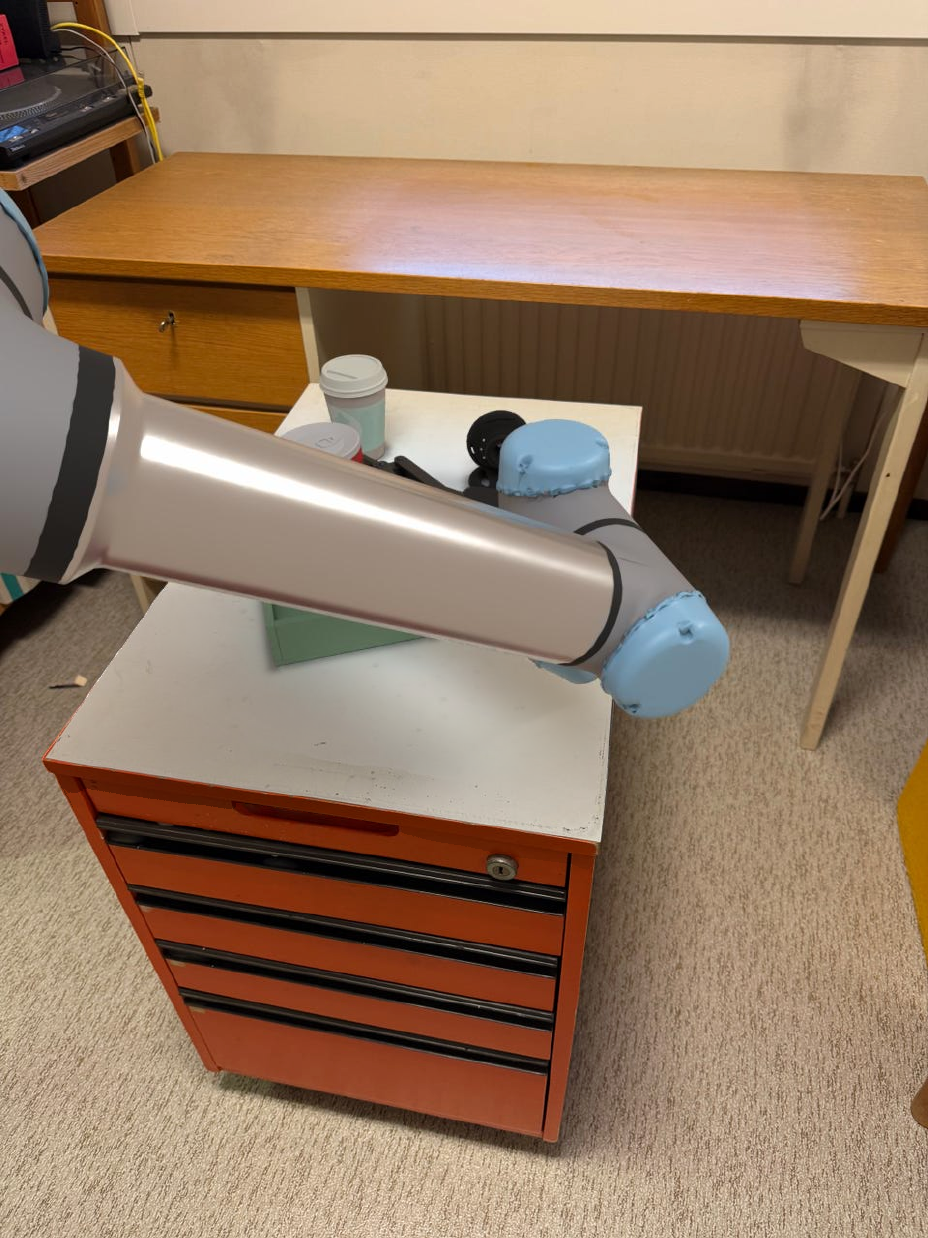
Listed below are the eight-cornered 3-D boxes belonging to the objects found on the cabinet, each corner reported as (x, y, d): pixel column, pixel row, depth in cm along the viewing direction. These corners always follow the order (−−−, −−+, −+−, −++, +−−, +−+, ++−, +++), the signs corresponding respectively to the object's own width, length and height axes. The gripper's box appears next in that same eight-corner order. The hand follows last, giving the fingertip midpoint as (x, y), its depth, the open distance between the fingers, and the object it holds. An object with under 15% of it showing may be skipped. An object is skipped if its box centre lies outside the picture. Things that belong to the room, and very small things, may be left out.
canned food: (388, 530, 89) (376, 432, 81) (338, 573, 84) (321, 473, 76) (329, 509, 92) (313, 413, 85) (277, 549, 87) (256, 451, 80)
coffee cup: (321, 446, 118) (308, 361, 110) (381, 430, 120) (372, 346, 113) (342, 476, 112) (329, 388, 104) (404, 459, 115) (396, 373, 107)
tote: (275, 666, 86) (266, 627, 83) (263, 572, 97) (254, 534, 94) (431, 635, 89) (428, 596, 85) (401, 547, 100) (397, 509, 97)
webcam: (472, 505, 106) (470, 430, 99) (463, 472, 112) (460, 400, 105) (536, 497, 107) (537, 423, 100) (523, 466, 112) (524, 393, 106)
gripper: (371, 661, 71) (213, 549, 83) (539, 545, 82) (377, 462, 94) (360, 589, 66) (194, 482, 78) (541, 475, 77) (369, 397, 89)
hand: (294, 471), depth 86 cm, fingers closed on canned food, 8 cm apart
